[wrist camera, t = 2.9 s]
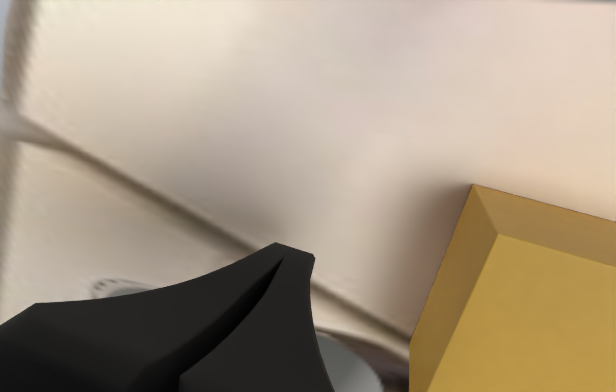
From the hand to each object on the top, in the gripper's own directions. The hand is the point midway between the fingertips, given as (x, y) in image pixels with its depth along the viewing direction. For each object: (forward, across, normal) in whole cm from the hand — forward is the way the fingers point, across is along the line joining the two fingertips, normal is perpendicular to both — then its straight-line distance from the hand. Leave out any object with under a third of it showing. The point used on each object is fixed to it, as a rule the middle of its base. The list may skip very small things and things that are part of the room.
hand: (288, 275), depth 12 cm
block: (+3, -8, 0) cm, 9 cm away
